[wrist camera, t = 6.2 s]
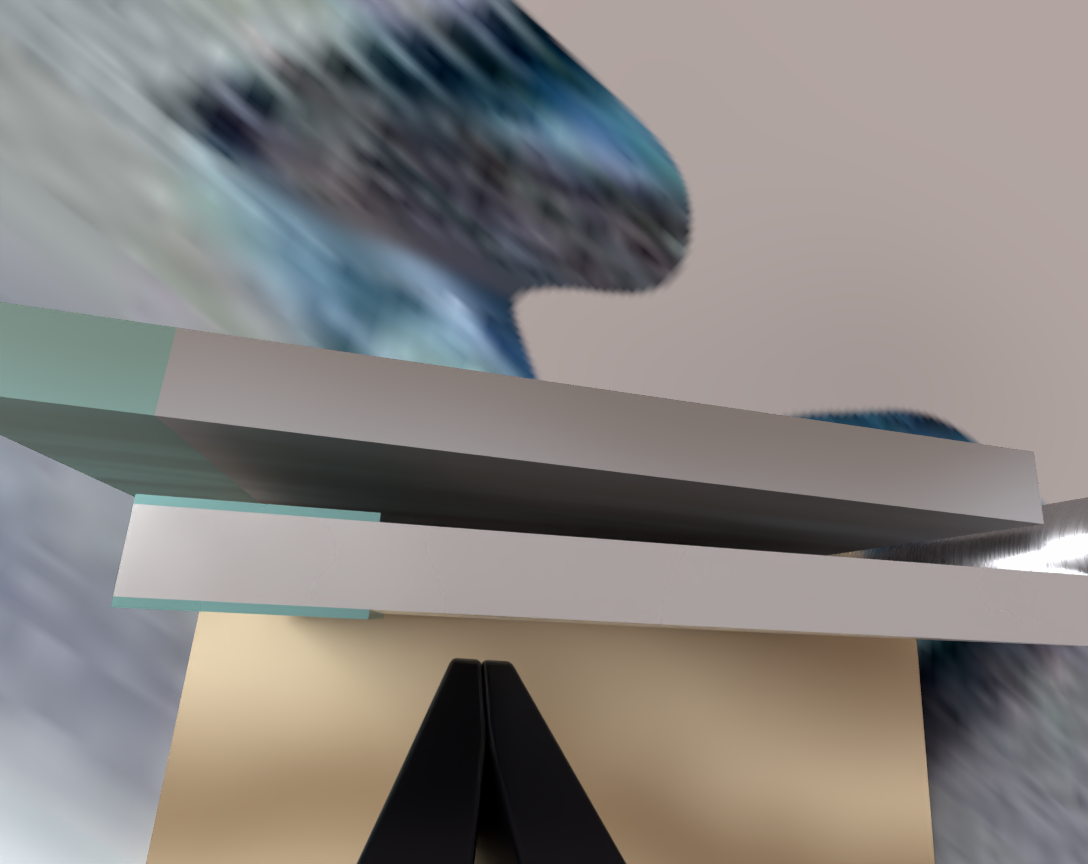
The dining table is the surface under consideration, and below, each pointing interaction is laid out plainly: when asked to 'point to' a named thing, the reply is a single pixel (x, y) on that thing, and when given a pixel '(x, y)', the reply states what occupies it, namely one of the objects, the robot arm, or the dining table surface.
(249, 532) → the jaw
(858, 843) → the base
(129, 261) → the dining table surface
